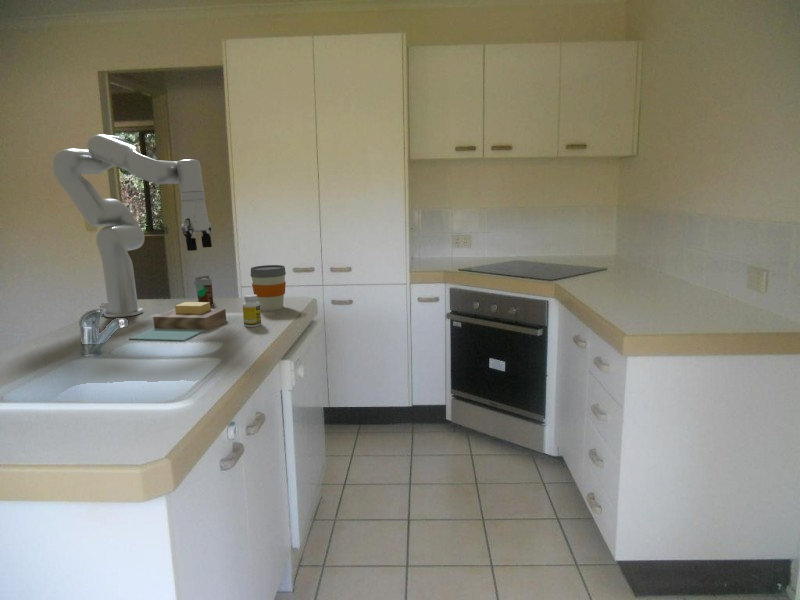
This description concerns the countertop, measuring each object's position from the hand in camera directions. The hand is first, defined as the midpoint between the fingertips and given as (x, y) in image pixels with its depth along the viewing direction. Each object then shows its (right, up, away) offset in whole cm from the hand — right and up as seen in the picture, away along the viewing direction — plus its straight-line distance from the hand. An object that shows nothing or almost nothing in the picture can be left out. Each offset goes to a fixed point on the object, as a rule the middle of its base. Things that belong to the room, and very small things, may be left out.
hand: (200, 248), depth 191 cm
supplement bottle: (+21, -26, -10) cm, 35 cm away
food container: (-8, -19, +27) cm, 34 cm away
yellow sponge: (0, -21, -6) cm, 22 cm away
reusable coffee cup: (+20, -20, +16) cm, 33 cm away
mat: (-3, -28, -20) cm, 34 cm away
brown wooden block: (0, -25, -7) cm, 26 cm away
